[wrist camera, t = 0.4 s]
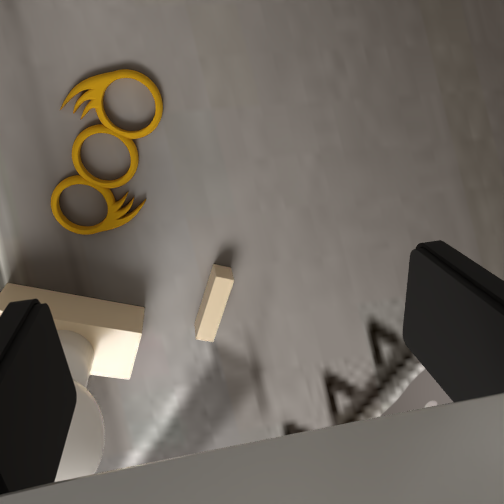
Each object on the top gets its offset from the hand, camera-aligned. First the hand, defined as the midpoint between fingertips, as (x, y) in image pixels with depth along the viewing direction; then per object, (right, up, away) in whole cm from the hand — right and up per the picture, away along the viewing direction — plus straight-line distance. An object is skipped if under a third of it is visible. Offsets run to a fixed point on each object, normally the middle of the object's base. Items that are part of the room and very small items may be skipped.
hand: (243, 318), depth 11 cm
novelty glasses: (-14, +11, +29) cm, 34 cm away
